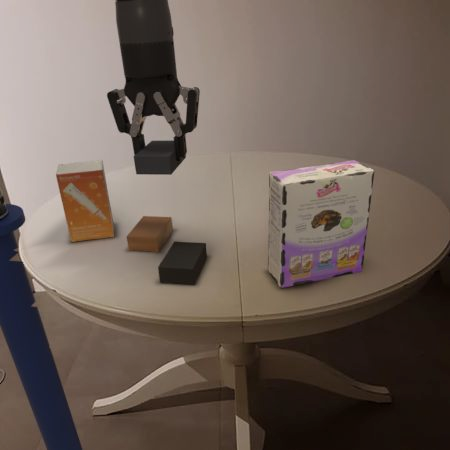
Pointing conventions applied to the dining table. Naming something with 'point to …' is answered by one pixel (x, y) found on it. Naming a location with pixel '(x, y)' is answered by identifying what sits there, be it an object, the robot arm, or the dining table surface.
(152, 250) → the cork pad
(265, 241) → the dining table surface
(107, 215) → the small box
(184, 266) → the black pad
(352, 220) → the candy box
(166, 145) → the grey pad
